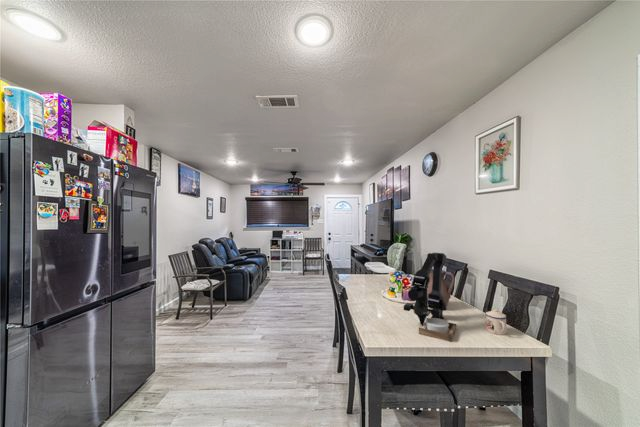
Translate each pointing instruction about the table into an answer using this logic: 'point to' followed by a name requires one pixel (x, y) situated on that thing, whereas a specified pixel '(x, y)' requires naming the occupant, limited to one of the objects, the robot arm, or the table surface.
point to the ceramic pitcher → (444, 289)
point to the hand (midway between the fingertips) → (422, 325)
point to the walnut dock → (440, 333)
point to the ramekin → (437, 325)
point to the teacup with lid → (496, 322)
